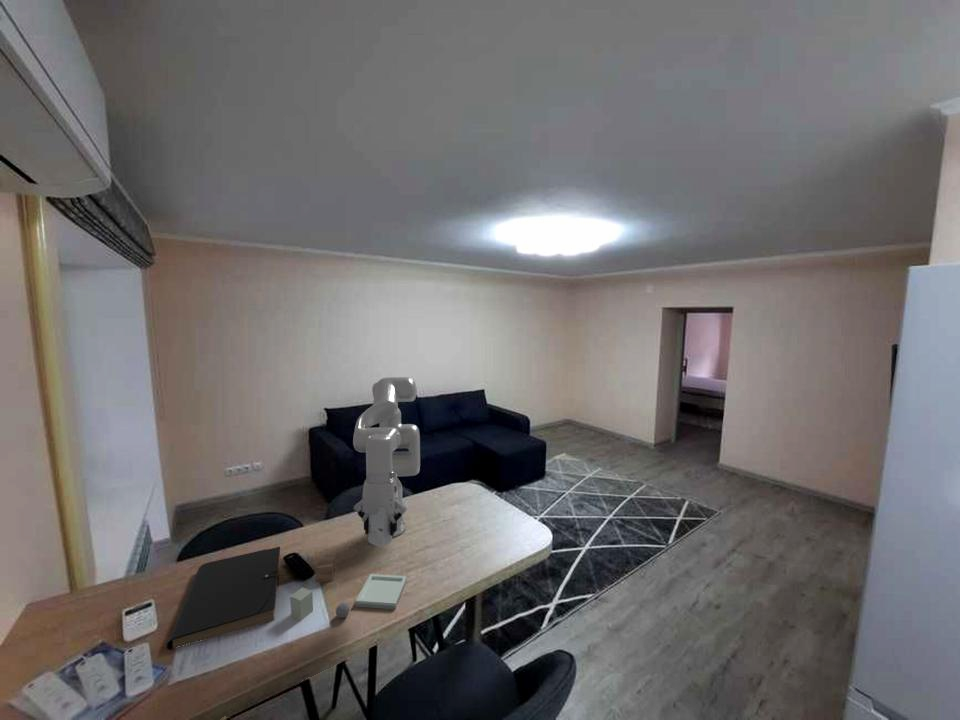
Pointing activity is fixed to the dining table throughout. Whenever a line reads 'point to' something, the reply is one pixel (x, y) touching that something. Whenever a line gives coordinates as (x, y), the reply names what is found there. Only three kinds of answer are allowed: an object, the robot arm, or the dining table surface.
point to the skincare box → (379, 528)
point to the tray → (381, 591)
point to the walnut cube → (325, 569)
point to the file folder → (228, 597)
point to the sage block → (301, 603)
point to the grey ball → (342, 610)
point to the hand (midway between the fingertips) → (380, 532)
